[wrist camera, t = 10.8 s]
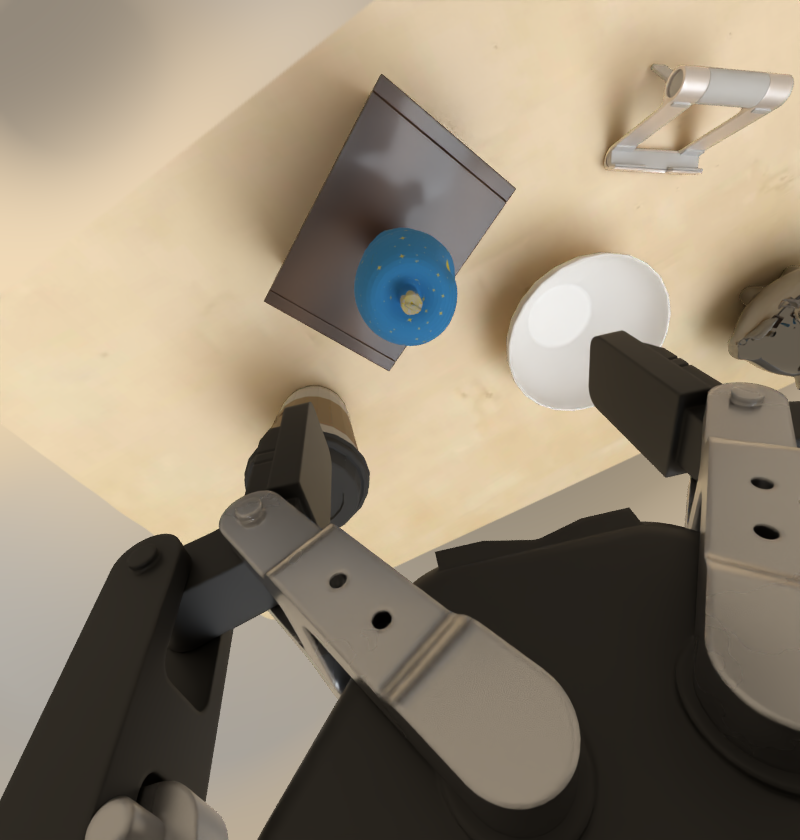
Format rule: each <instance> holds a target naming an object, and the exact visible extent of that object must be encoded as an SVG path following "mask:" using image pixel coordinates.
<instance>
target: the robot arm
mask: <svg viewBox="0 0 800 840" xmlns="http://www.w3.org/2000/svg"><path fill="white" fill-rule="evenodd" d="M588 387H589V394H590V398H591V400H592V402H593V404H594V406H595V407H596V408H597V409H598V410H599V411H600V412H601V413H602V414H603V415H604V416H605V417H606V418H607V419H608V420H609V421H610V422H611V423H612V424H613V425H614V426H615V427H616V428H617V429H618V430H619V431H620V432H621V433H622V434H623V435H624V436H625V437H626V438H627V439H628V440H629V441H630V442H631V443H632V444H633V445H634V446H635V447H636V448H637V449H638V450H639V451H640V452H641V453H642V454H643V455H644V456H645V457H646V458H647V459H648V460H649V461H650V462H651V463H652V464H653V465H654V466H655V467H656V468H657V469H658V470H659V471H660V472H661V473H662V474H663V475H664V476H665V477H671V476H675V475H679V474H684V473H688V474H689V475H690V481H689V485H688V494H687V505H686V517H685V527H681V526H676V525H672V524H666V523H658V522H640V520H639V519H638V518H637V517H636V515H635V514H634V513H633V512H632V511H631V509H630V508H625V509H621V510H616V511H612V512H607V513H603V514H599V515H594V516H590V517H586V518H581V519H579V520H577V521H575V522H573V523H571V524H569V525H567V526H565V527H563V528H561V529H559V530H557V531H555V532H553V533H551V534H548V535H546V536H544V537H543V538H540V539H536V540H514V541H513V540H512V541H481V542H477V543H472V544H468V545H463V546H459V547H455V548H450V549H446V550H442V551H437V552H435V554H436V558H437V563H438V567H437V568H435V569H433V570H431V571H429V572H428V573H426V574H425V575H423V576H421V577H420V578H419V579H417V580H416V581H415V582H414V583H412V582H411V581H409V580H408V579H407V578H405V577H404V576H403V575H401V574H400V573H399V572H397V571H396V570H395V569H393V568H392V567H391V566H390V565H388V564H387V563H386V562H384V561H383V560H382V559H380V558H379V557H378V556H376V555H375V554H374V553H372V552H371V551H370V550H368V549H367V548H366V547H364V546H363V545H362V544H360V543H359V542H358V541H356V540H355V539H354V538H352V537H351V536H350V535H348V534H347V533H346V532H345V531H343V530H342V529H341V528H339V527H338V526H336V525H334V524H332V523H330V513H331V477H332V463H331V457H330V452H329V448H328V445H327V442H326V439H325V437H324V434H323V431H322V428H321V425H320V422H319V420H318V417H317V414H316V411H315V409H314V406H313V404H312V403H311V402H307V403H302V404H298V405H294V406H289V407H285V408H284V411H283V415H282V420H281V424H280V426H279V427H275V428H270V429H269V430H268V432H267V433H266V434H265V435H264V436H263V438H262V439H261V440H260V442H259V445H258V449H257V455H256V456H255V460H254V465H253V467H252V471H251V474H250V478H249V481H248V485H247V489H246V492H245V496H243V497H241V498H240V499H238V500H236V501H235V502H234V503H232V504H231V505H230V506H229V507H228V508H227V509H226V510H225V511H224V513H223V514H222V516H221V518H220V521H219V529H217V530H216V531H214V532H212V533H210V534H208V535H206V536H203V537H201V538H199V539H197V540H195V541H193V542H191V543H188V544H186V545H184V546H183V545H182V543H181V542H180V540H179V539H178V538H177V537H176V536H174V535H171V534H160V535H155V536H152V537H149V538H147V539H145V540H143V541H141V542H139V543H137V544H136V545H134V546H133V547H131V548H130V549H129V550H127V551H126V552H125V553H124V554H123V555H122V556H121V557H120V558H119V559H118V560H117V562H116V563H115V564H114V566H113V568H112V569H111V571H110V574H109V576H108V578H107V580H106V582H105V584H104V586H103V588H102V590H101V592H100V594H99V596H98V599H97V600H96V603H95V605H94V607H93V609H92V611H91V613H90V615H89V617H88V619H87V621H86V623H85V625H84V627H83V630H82V632H81V634H80V636H79V638H78V640H77V642H76V644H75V646H74V648H73V650H72V652H71V654H70V657H69V659H68V661H67V663H66V665H65V667H64V669H63V671H62V673H61V676H60V677H59V680H58V681H57V684H56V686H55V688H54V690H53V692H52V694H51V696H50V698H49V700H48V702H47V704H46V706H45V708H44V711H43V713H42V715H41V717H40V719H39V721H38V723H37V725H36V727H35V729H34V731H33V734H32V736H31V738H30V740H29V742H28V744H27V746H26V748H25V750H24V752H23V754H22V756H21V759H20V760H19V762H18V765H17V767H16V769H15V771H14V773H13V775H12V777H11V779H10V781H9V783H8V785H7V788H6V790H5V792H4V794H3V796H2V798H1V800H0V840H228V833H227V829H226V826H225V823H224V821H223V819H222V817H221V816H220V815H219V814H218V813H217V812H216V811H215V810H214V809H213V808H211V807H210V806H209V805H207V803H205V801H206V795H207V789H208V783H209V777H210V770H211V764H212V758H213V752H214V746H215V740H216V733H217V727H218V721H219V715H220V709H221V702H222V696H223V690H224V683H225V678H226V672H227V665H228V659H229V653H230V647H231V641H232V634H233V629H234V628H235V627H237V626H239V625H241V624H243V623H245V622H247V621H248V620H250V619H252V618H254V617H256V616H258V615H260V614H262V613H264V612H265V611H267V610H268V611H269V612H270V614H271V615H272V616H273V617H274V618H275V620H276V621H277V622H278V623H279V624H280V626H281V627H282V628H283V629H284V630H285V632H286V633H287V634H288V635H289V636H290V637H291V639H292V640H293V641H294V642H295V644H296V645H297V646H298V647H299V648H300V650H301V651H302V652H303V653H304V654H305V656H306V657H307V658H308V659H309V660H310V662H311V663H312V664H313V665H314V667H315V669H316V670H317V671H318V673H319V674H320V676H321V677H322V679H323V680H324V682H325V683H326V684H327V686H328V687H329V688H330V690H331V691H332V692H333V693H334V695H335V696H336V697H337V699H338V701H337V703H336V705H335V706H334V708H333V710H332V711H331V713H330V715H329V717H328V718H327V720H326V722H325V724H324V725H323V727H322V729H321V730H320V732H319V734H318V736H317V737H316V739H315V741H314V742H313V744H312V746H311V748H310V749H309V751H308V753H307V754H306V756H305V758H304V760H303V761H302V763H301V765H300V766H299V769H298V770H297V772H296V773H295V775H294V777H293V778H292V780H291V782H290V784H289V785H288V787H287V789H286V791H285V792H284V794H283V796H282V798H281V799H280V801H279V803H278V804H277V806H276V808H275V809H274V811H273V813H272V815H271V817H270V818H269V820H268V822H267V823H266V825H265V827H264V828H263V830H262V832H261V834H260V836H259V838H258V840H800V401H796V402H788V399H787V398H786V397H785V396H784V395H783V394H782V393H780V392H778V391H777V390H774V389H772V388H769V387H766V386H763V385H759V384H753V383H741V382H736V383H726V384H722V383H720V382H719V381H717V380H715V379H714V378H712V377H710V376H709V375H707V374H705V373H704V372H702V371H700V370H699V369H697V368H696V367H694V366H692V365H689V364H688V363H687V362H686V361H684V360H682V359H681V358H677V356H676V355H674V354H673V353H671V352H669V351H668V350H666V349H664V348H662V347H658V346H655V345H651V344H648V343H643V342H641V341H639V340H638V339H636V338H635V337H633V336H632V335H630V334H628V333H627V332H625V331H623V330H620V331H616V332H612V333H607V334H603V335H599V336H595V337H593V338H592V340H591V344H590V360H589V385H588Z"/></svg>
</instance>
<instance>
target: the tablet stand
mask: <svg viewBox="0 0 800 840" xmlns="http://www.w3.org/2000/svg"><path fill="white" fill-rule="evenodd" d="M651 70H653V71H654V72H655V73H656V74H657V75H658V76H660V77H661V78H662V79H663V80H664V81H665V82H666V85H665V90H664V98H663V101H662V104H661V106H660V107H659V108H658V109H657V110H656V111H654V112H653V113H652V114H651V115H649V116H648V117H647V118H646V119H644V120H643V121H642V122H641V123H640V124H638V125H637V126H636V127H635V128H633V129H632V130H631V131H630V132H628V133H627V134H626V135H625V136H623V137H622V138H621V139H620V140H618V141H617V142H616V143H615V144H613V145H612V146H611V147H610V148H609V149H608V151H607V153H606V156H605V160H604V167H605V169H606V170H616V171H633V172H650V173H668V174H685V175H696V174H702V171H703V169H699V168H698V160H699V156H700V155H701V154H703V153H704V152H705V150H707V149H709V148H710V147H712V146H714V145H715V144H717V143H719V142H721V141H722V140H724V139H726V138H727V137H729V136H731V135H733V134H734V133H736V132H738V131H739V130H741V129H743V128H745V127H746V126H748V125H750V124H751V123H753V122H755V121H757V120H758V119H760V118H762V117H763V116H765V115H767V114H768V113H770V112H772V111H773V110H775V109H777V108H778V107H780V106H781V105H782V104H783V103H784V102H785V101H786V100H787V99H788V97H789V96H790V94H791V92H792V89H793V85H794V79H793V77H792V76H791V75H789V74H778V73H767V72H756V71H745V70H734V69H723V68H712V67H702V66H691V65H679V66H677V67H676V68H675V69H674V70H672V69H670V68H669V67H668V66H666V65H660V64H653V65H652V66H651ZM693 104H703V105H716V106H728V107H741V108H742V109H741V111H740V112H739V113H738V114H736V115H735V116H734V117H732V118H730V119H729V120H727V121H726V122H724V123H722V124H721V125H719V126H718V127H716V128H714V129H713V130H711V131H710V132H708V133H707V134H705V135H703V136H702V137H700V138H699V139H697V140H695V141H694V142H692V143H691V144H689V145H687V146H686V147H684V148H683V149H681V150H679V151H673V150H657V149H642V148H636V147H637V146H638V145H639V144H640V143H642V142H643V141H644V140H646V139H647V138H648V137H650V136H651V135H652V134H654V133H655V132H657V131H658V130H659V129H661V128H662V127H663V126H665V125H666V124H667V123H669V122H670V121H671V120H673V119H674V118H676V117H677V116H678V115H680V114H681V113H682V112H684V111H685V110H686V109H688V108H689V107H690V106H692V105H693Z"/></svg>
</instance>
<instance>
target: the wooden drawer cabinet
mask: <svg viewBox="0 0 800 840" xmlns="http://www.w3.org/2000/svg"><path fill="white" fill-rule="evenodd" d="M515 190H516V188H515V187H514V186H512V185H511V184H510V183H509V182H508V181H507V180H505V179H504V178H503V177H502V176H501V175H500V174H498V173H497V172H496V171H495V170H494V169H493V168H491V167H490V166H489V165H488V164H487V163H486V162H484V161H483V160H482V159H481V158H480V157H479V156H477V155H476V154H475V153H474V152H473V151H472V150H470V149H469V148H468V147H467V146H466V145H465V144H463V143H462V142H461V141H460V140H459V139H458V138H456V137H455V136H454V135H453V134H452V133H451V132H449V131H448V130H447V129H446V128H445V127H444V126H442V125H441V124H440V123H439V122H438V121H436V120H435V119H434V118H433V117H432V116H431V115H429V114H428V113H427V112H426V111H425V110H424V109H422V108H421V107H420V106H419V105H418V104H417V103H415V102H414V101H413V100H412V99H411V98H410V97H408V96H407V95H406V94H405V93H404V92H403V91H401V90H400V89H399V88H398V87H397V86H396V85H394V84H393V83H392V82H391V81H390V80H389V79H387V78H386V77H385V76H384V75H383V74H381V75H380V77H379V79H378V80H377V82H376V84H375V86H374V88H373V90H372V92H371V93H370V95H369V97H368V99H367V101H366V103H365V105H364V107H363V109H362V111H361V113H360V115H359V117H358V119H357V120H356V122H355V124H354V126H353V128H352V130H351V132H350V134H349V136H348V138H347V140H346V142H345V144H344V146H343V148H342V150H341V152H340V153H339V155H338V157H337V159H336V161H335V163H334V165H333V167H332V169H331V171H330V173H329V175H328V177H327V179H326V181H325V183H324V185H323V186H322V188H321V190H320V192H319V194H318V196H317V198H316V200H315V202H314V204H313V206H312V208H311V210H310V212H309V214H308V216H307V218H306V219H305V221H304V223H303V225H302V227H301V229H300V231H299V233H298V235H297V237H296V239H295V241H294V243H293V245H292V247H291V249H290V251H289V252H288V254H287V256H286V258H285V260H284V262H283V264H282V266H281V268H280V270H279V272H278V274H277V276H276V278H275V280H274V282H273V284H272V286H271V288H270V290H269V292H268V294H267V296H266V298H265V300H264V302H266V303H268V304H270V305H271V306H273V307H275V308H277V309H279V310H280V311H282V312H284V313H286V314H288V315H289V316H291V317H293V318H295V319H296V320H298V321H300V322H302V323H304V324H305V325H307V326H309V327H311V328H313V329H314V330H316V331H318V332H320V333H322V334H323V335H325V336H327V337H329V338H330V339H332V340H334V341H336V342H338V343H339V344H341V345H343V346H345V347H347V348H348V349H350V350H352V351H354V352H356V353H357V354H359V355H361V356H363V357H365V358H366V359H368V360H370V361H372V362H373V363H375V364H377V365H379V366H381V367H382V368H384V369H386V370H388V371H390V369H391V368H392V367H393V365H394V364H395V361H397V359H398V358H399V356H400V355H401V353H402V352H403V351H404V349H405V348H406V346H404V345H398V344H395V343H391V342H389V341H387V340H385V339H383V338H381V337H379V336H378V335H377V334H375V333H374V332H373V331H372V330H371V329H370V328H369V327H368V326H367V324H366V323H365V321H364V320H363V318H362V316H361V315H360V312H359V310H358V307H357V304H356V301H355V294H354V283H355V276H356V272H357V269H358V266H359V263H360V261H361V259H362V256H363V254H364V252H365V250H366V249H367V247H368V246H369V244H370V243H371V242H372V241H373V240H374V239H375V238H376V236H377V235H379V234H380V233H381V232H383V231H385V230H390V229H395V228H410V229H414V230H418V231H422V232H424V233H427V234H429V235H431V236H433V237H434V238H435V239H436V240H438V241H439V242H440V243H441V244H442V245H443V246H444V247H445V248H446V249H447V250H448V251H449V253H450V254H451V257H452V259H453V263H454V268H455V276H456V274H457V273H458V272H459V270H460V269H461V267H462V266H463V264H464V263H465V262H466V260H467V259H468V257H469V256H470V254H471V253H472V251H473V250H474V249H475V247H476V246H477V244H478V243H479V241H480V240H481V239H482V237H483V236H484V234H485V233H486V231H487V230H488V228H489V227H490V226H491V224H492V223H493V221H494V220H495V218H496V217H497V216H498V214H499V213H500V211H501V210H502V208H503V207H504V205H505V204H506V202H507V201H508V200H509V198H510V197H511V195H512V194H513V193H514V191H515Z"/></svg>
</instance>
